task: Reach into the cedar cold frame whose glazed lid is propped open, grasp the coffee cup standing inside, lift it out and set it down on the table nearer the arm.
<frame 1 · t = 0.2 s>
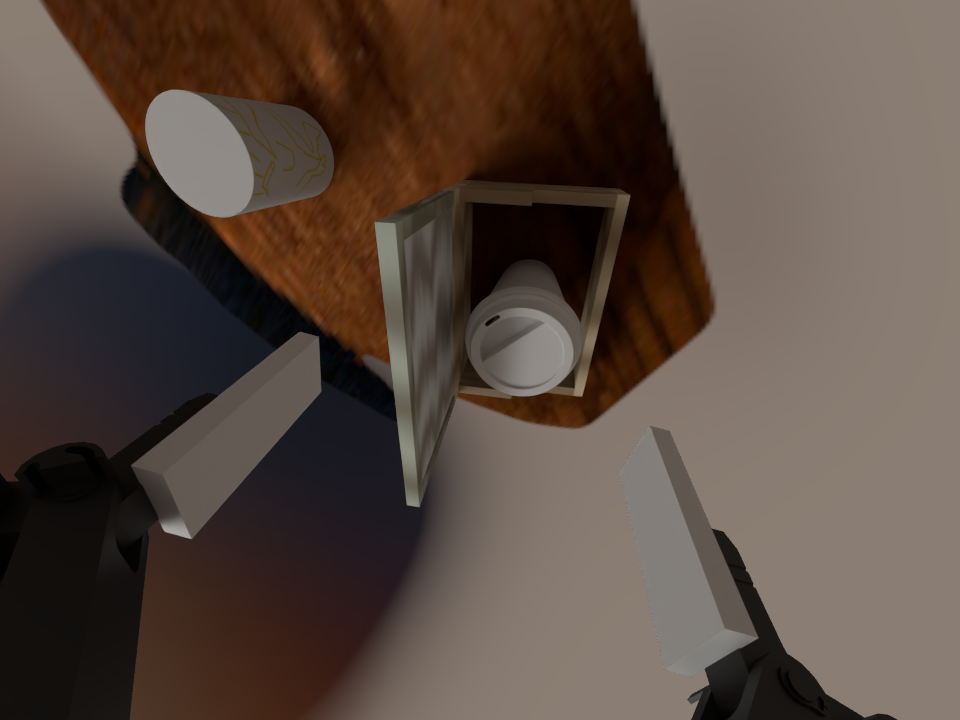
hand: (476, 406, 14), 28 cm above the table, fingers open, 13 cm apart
coffee cup: (528, 287, 40), resting in cold frame
cold frame: (527, 287, 40), on the table
white cylinder: (297, 153, 36), on the table
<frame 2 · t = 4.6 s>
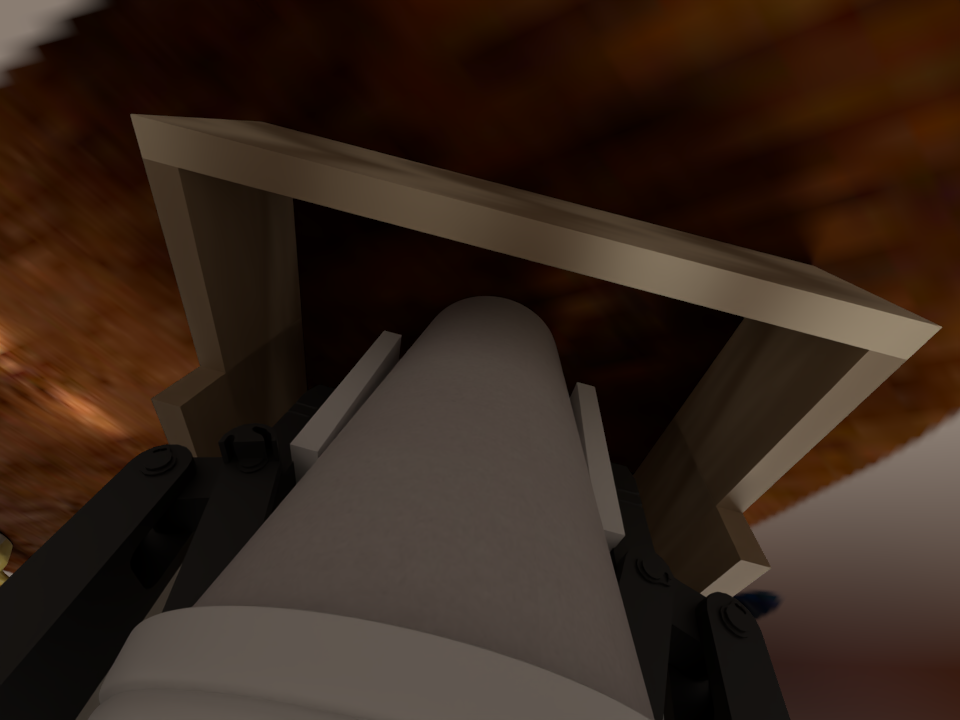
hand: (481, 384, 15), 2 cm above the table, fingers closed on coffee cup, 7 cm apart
coffee cup: (489, 356, 17), resting in cold frame, touching gripper
cold frame: (489, 358, 17), on the table
mug: (2, 540, 40), on the table
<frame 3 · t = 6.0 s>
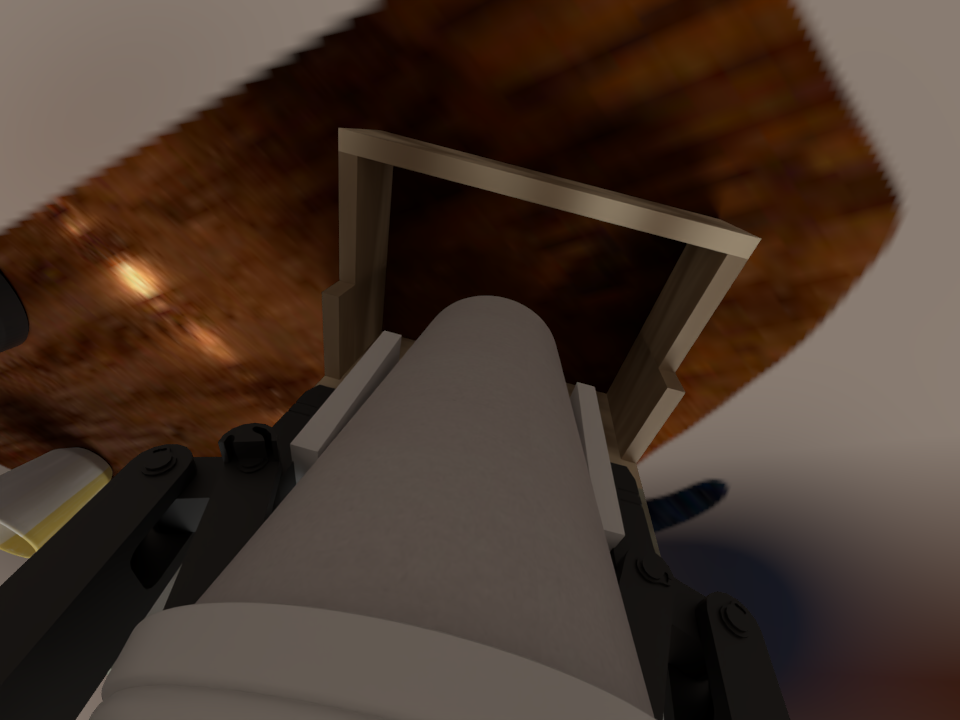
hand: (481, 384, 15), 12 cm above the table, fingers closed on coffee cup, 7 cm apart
coffee cup: (489, 356, 17), point 10 cm above the table, touching gripper
cold frame: (514, 289, 25), on the table
mug: (103, 469, 49), on the table
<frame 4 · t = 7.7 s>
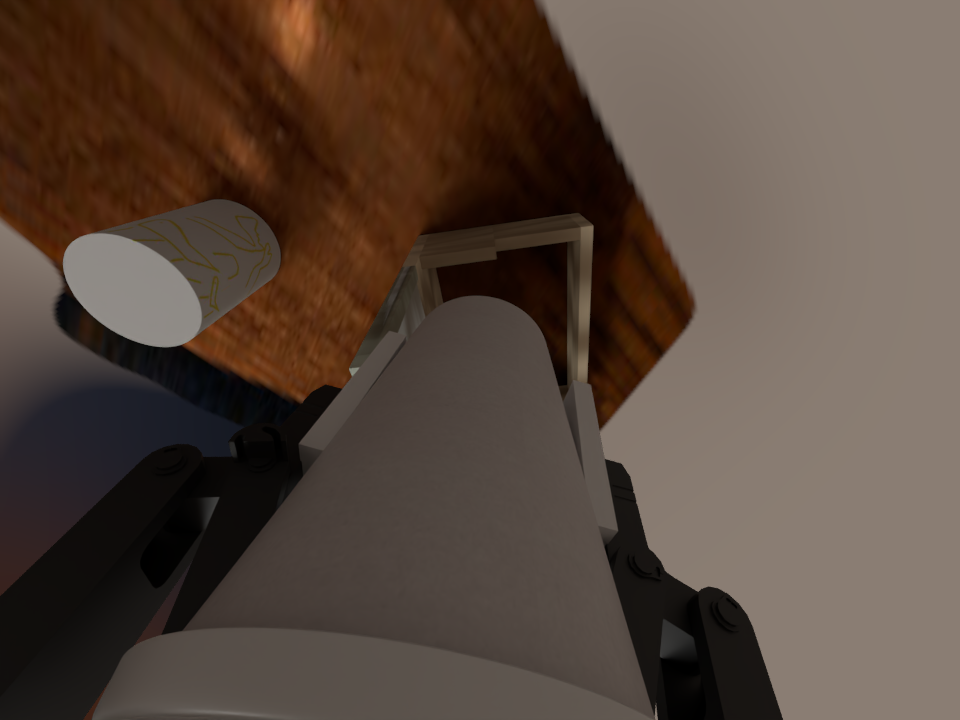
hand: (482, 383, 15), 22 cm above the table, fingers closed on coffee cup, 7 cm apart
coffee cup: (480, 355, 17), point 20 cm above the table, touching gripper
cold frame: (507, 323, 39), on the table
white cylinder: (237, 244, 34), on the table
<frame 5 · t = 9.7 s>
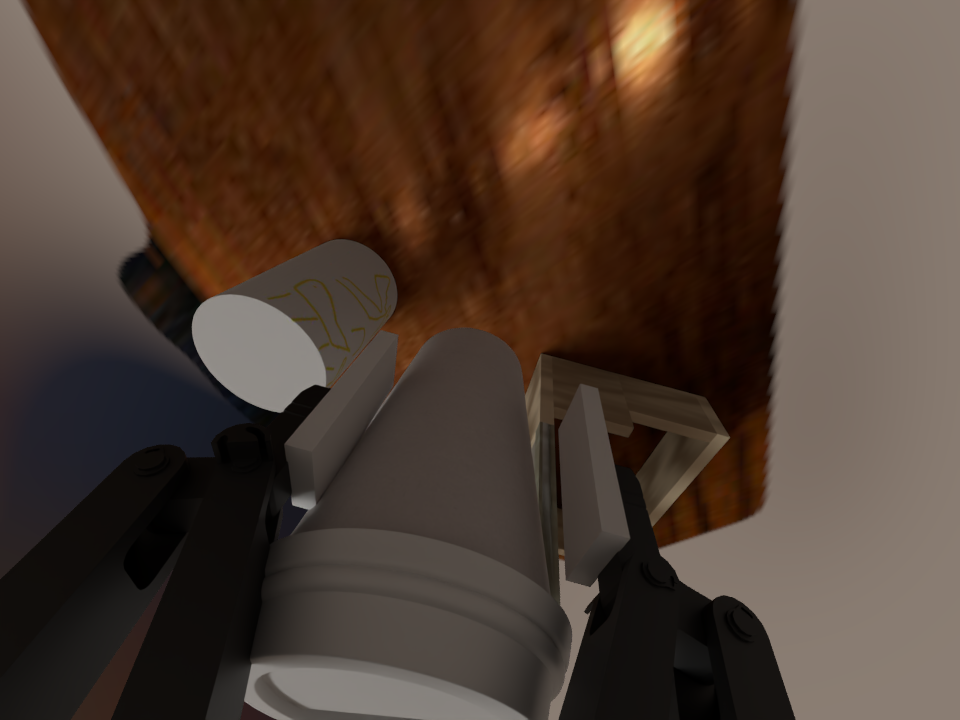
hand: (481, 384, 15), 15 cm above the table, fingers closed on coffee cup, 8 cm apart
coffee cup: (468, 373, 22), point 10 cm above the table, touching gripper
cold frame: (579, 453, 37), on the table
white cylinder: (353, 286, 31), on the table
when the fingers open (5 cm above the table, at t = 11.3 s): coffee cup stays where it is, on the table.
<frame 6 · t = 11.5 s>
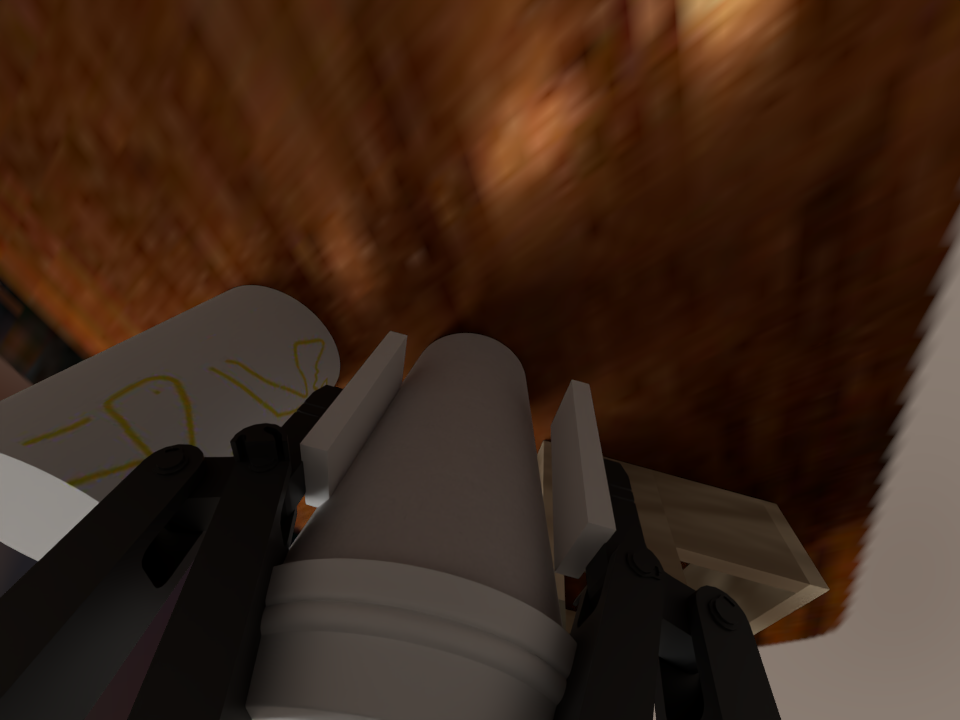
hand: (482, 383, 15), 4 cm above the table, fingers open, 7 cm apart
coffee cup: (470, 379, 21), on the table, touching gripper
cold frame: (594, 555, 28), on the table
white cylinder: (279, 346, 22), on the table
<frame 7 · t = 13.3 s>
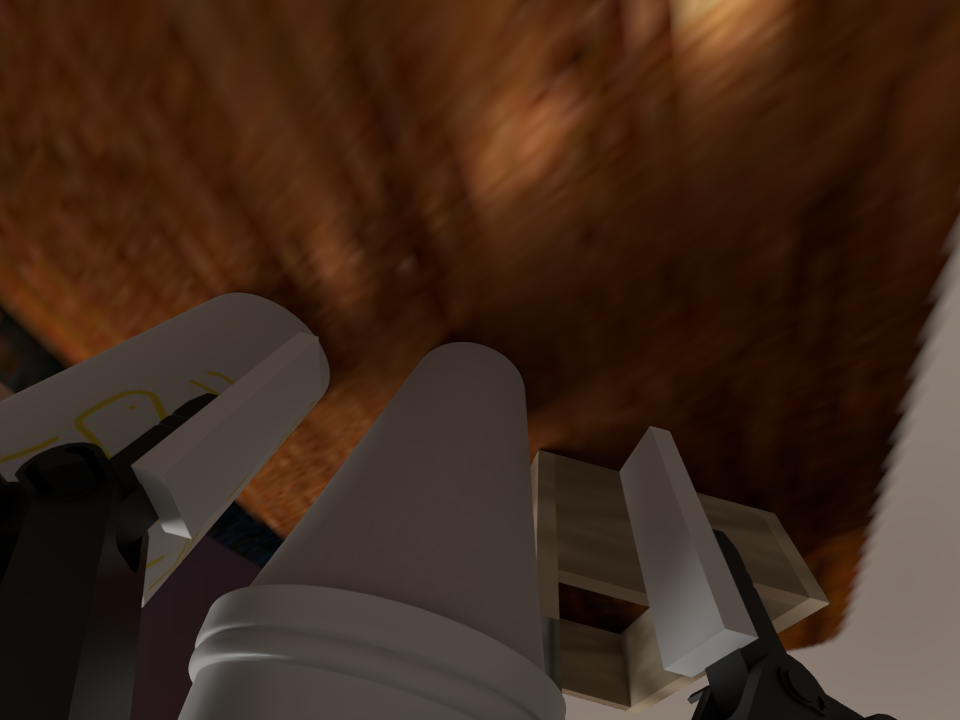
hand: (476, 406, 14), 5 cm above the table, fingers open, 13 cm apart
coffee cup: (469, 388, 20), on the table
cold frame: (591, 565, 28), on the table
white cylinder: (267, 354, 21), on the table
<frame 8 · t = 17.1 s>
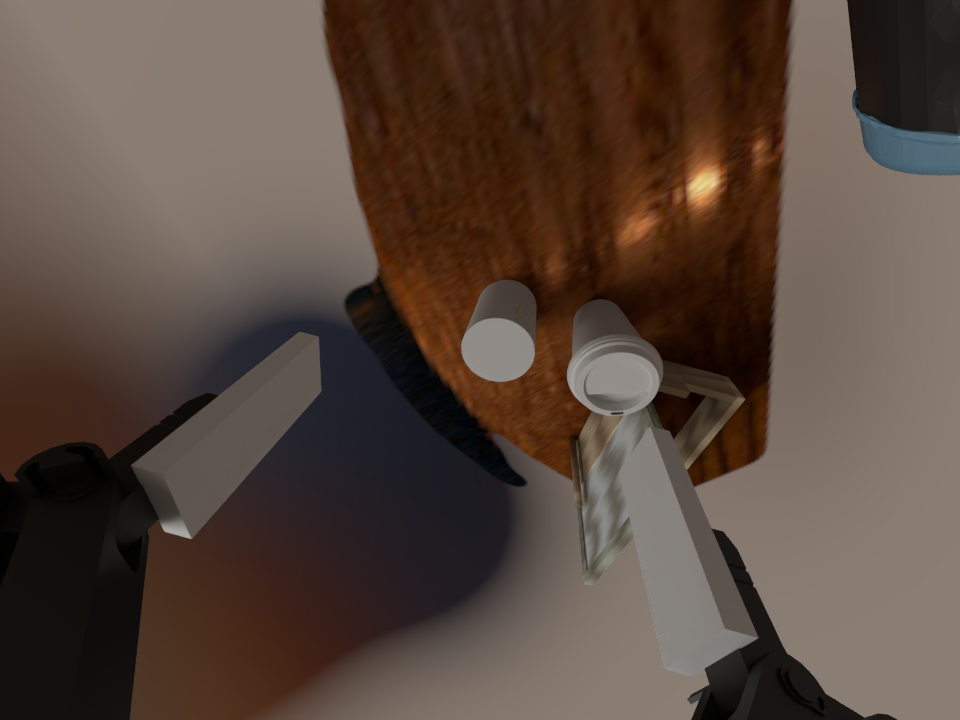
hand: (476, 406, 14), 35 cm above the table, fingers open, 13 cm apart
coffee cup: (597, 320, 48), on the table
cold frame: (641, 417, 55), on the table
white cylinder: (507, 307, 49), on the table
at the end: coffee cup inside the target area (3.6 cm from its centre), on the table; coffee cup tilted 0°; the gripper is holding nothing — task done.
